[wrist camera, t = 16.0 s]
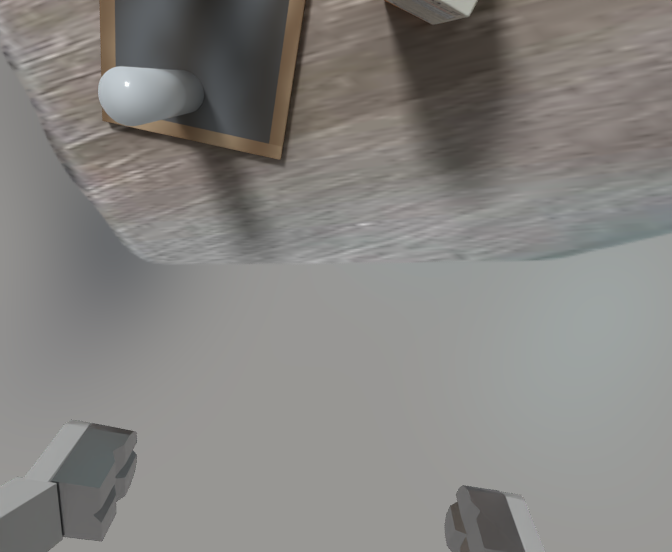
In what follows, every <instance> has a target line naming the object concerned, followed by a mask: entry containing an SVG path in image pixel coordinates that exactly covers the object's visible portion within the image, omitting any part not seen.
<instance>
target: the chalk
mask: <svg viewBox="0 0 672 552" xmlns="http://www.w3.org/2000/svg"><path fill="white" fill-rule="evenodd" d="M98 95H99V100H100V103H101V105H102V107H103V109H104V110H105V112H106V113H107V114H108V115H109V116H110V117H111V118H112V119H113V120H114V121H116V122H118V123H120V124H122V125H126V126H138V125H142V124H146V123H151V122H155V121H159V120H163V119H167V118H171V117H175V116H179V115H183V114H187V113H191V112H194V111H196V110H197V109H198V108H199V107H200V106H201V105H202V103H203V99H204V90H203V86H202V84H201V82H200V81H199V79H198V78H197V77H196V76H195V75H194V74H192V73H190V72H188V71H184V70H170V69H155V68H140V67H125V66H119V67H114V68H111V69H109V70H108V71H107V72H105V74H104V75H103V76H102V78H101V80H100V82H99V86H98Z"/></svg>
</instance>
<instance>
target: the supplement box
mask: <svg viewBox="0 0 672 552" xmlns="http://www.w3.org/2000/svg"><path fill="white" fill-rule="evenodd" d="M385 1H386V2H388V3H391V4H392V5H394V6H396V7H398V8H400V9H402V10H404V11H406V12H408V13H410V14H412V15H414V16H416V17H418V18H420V19H422V20H424V21H426V22H428V23H430V24H431V25H435V24H440V23H444V22H448V21H453V20H457V19H461V18H466V17H469V16H470V15H471V13H472V11H473V9H474V7H475V6H476V4H477V2H478V0H385Z"/></svg>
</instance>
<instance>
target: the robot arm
mask: <svg viewBox="0 0 672 552" xmlns="http://www.w3.org/2000/svg"><path fill="white" fill-rule="evenodd" d="M136 443H137V433H136V432H135V431H130V430H125V429H120V428H115V427H110V426H105V425H99V424H94V423H88V422H83V421H77V420H72V419H71V420H70V421H69V422H67V423H66V424H65V425H64V426H63V427H62V428H61V430H60V431H59V432H58V434H57V435H56V436H55V437H54V439H53V440H52V441H51V443H50V444H49V445H48V447H47V448H46V449H45V451H44V452H43V453H42V455H41V456H40V457H39V459H38V460H37V461H36V462H35V464H34V465H33V467H32V468H31V469H30V470H29V472H28V473H27V474H26V476H25V477H24V478H22V477H16V478H14V479H12V480H10V481H9V482H7V483H5V484H3V485H1V486H0V552H48V551H49V550H50V549H51V548H53V547H54V546H55V545H56V544H57V543H59V542H60V541H61V540H62V539H63V537H69V538H77V539H86V540H95V541H103V539H104V537H105V535H106V533H107V531H108V529H109V527H110V525H111V523H112V521H113V519H114V517H115V515H116V502H117V501H118V500H120V499H121V498H123V497H124V496H125V495H126V493H127V491H128V489H129V486H130V485H131V482H132V479H133V476H134V472H135V468H136V463H137V455H136V453H135V452H134V451H133V448H134V446H135V444H136ZM456 497H457V501H458V502H456V503H454V504H453V505H451V506H450V507H449V509H448V512H447V514H446V520H445V537H446V543H447V546H448V548H449V549H450V550H451V551H452V552H545V549H544V546H543V544H542V542H541V539H540V537H539V534H538V532H537V529H536V527H535V524H534V522H533V520H532V517H531V514H530V512H529V510H528V507H527V505H526V502H525V500H524V498H523V497H522V496H521V495H518V494H513V493H506V492H500V491H497V490H491V489H484V488H477V487H471V486H464V485H463V486H461V487H460V488H459V489H458V491H457V493H456Z"/></svg>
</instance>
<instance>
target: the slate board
mask: <svg viewBox="0 0 672 552" xmlns="http://www.w3.org/2000/svg"><path fill="white" fill-rule="evenodd" d="M305 3H306V0H100V39H101V78H102V76H103V75H104V74H105V72H107V71H108V70H109V69H111V68H114V67H119V66H125V67H140V68H155V69H170V70H184V71H188V72H190V73H192V74H194V75H195V76H196V77H197V78H198V79H199V81H200V82H201V84H202V86H203V90H204V99H203V103H202V105H201V106H200V107H199V108H198V109H197V110H196V111H194V112H191V113H187V114H183V115H179V116H175V117H171V118H167V119H163V120H159V121H155V122H151V123H146V124H142V125H138V126H129V127H133V128H138V129H142V130H147V131H151V132H156V133H160V134H165V135H170V136H174V137H179V138H183V139H188V140H192V141H197V142H201V143H206V144H211V145H215V146H220V147H224V148H229V149H233V150H238V151H242V152H247V153H251V154H256V155H261V156H265V157H270V158H274V159H279V160H280V159H281V157H282V150H283V144H284V138H285V131H286V125H287V118H288V112H289V106H290V99H291V93H292V86H293V80H294V74H295V67H296V61H297V54H298V48H299V42H300V35H301V29H302V22H303V16H304V10H305ZM102 118H103V121H106V122H110V123H115V124H119V125H122V124H120V123H118V122H116V121H114V120H113V119H112V118H111V117H110V116H109V115H108V114H107V113H106V112H105V110H104V109H103V107H102ZM124 126H126V125H124Z"/></svg>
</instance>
